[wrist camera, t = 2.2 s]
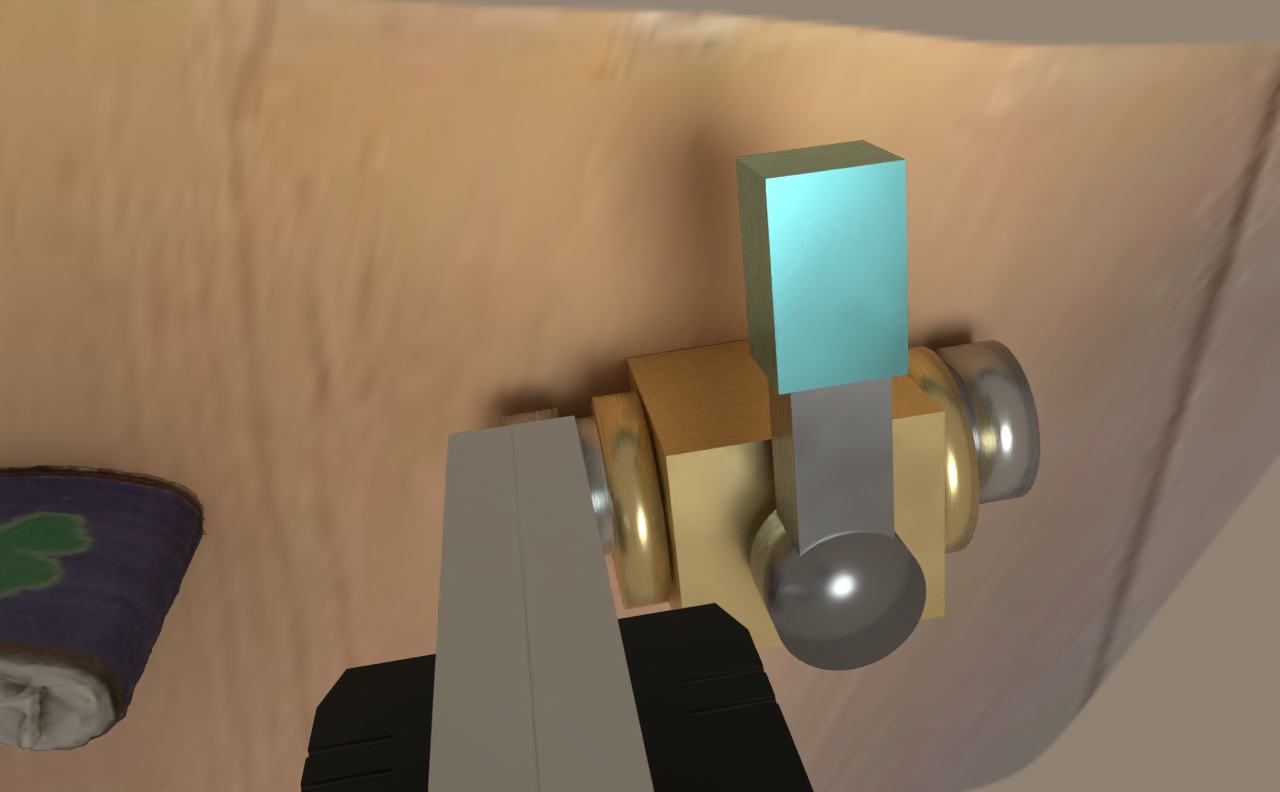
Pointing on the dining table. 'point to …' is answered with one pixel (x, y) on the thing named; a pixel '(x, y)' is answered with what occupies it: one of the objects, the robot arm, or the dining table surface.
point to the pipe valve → (744, 474)
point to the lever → (830, 395)
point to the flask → (84, 595)
